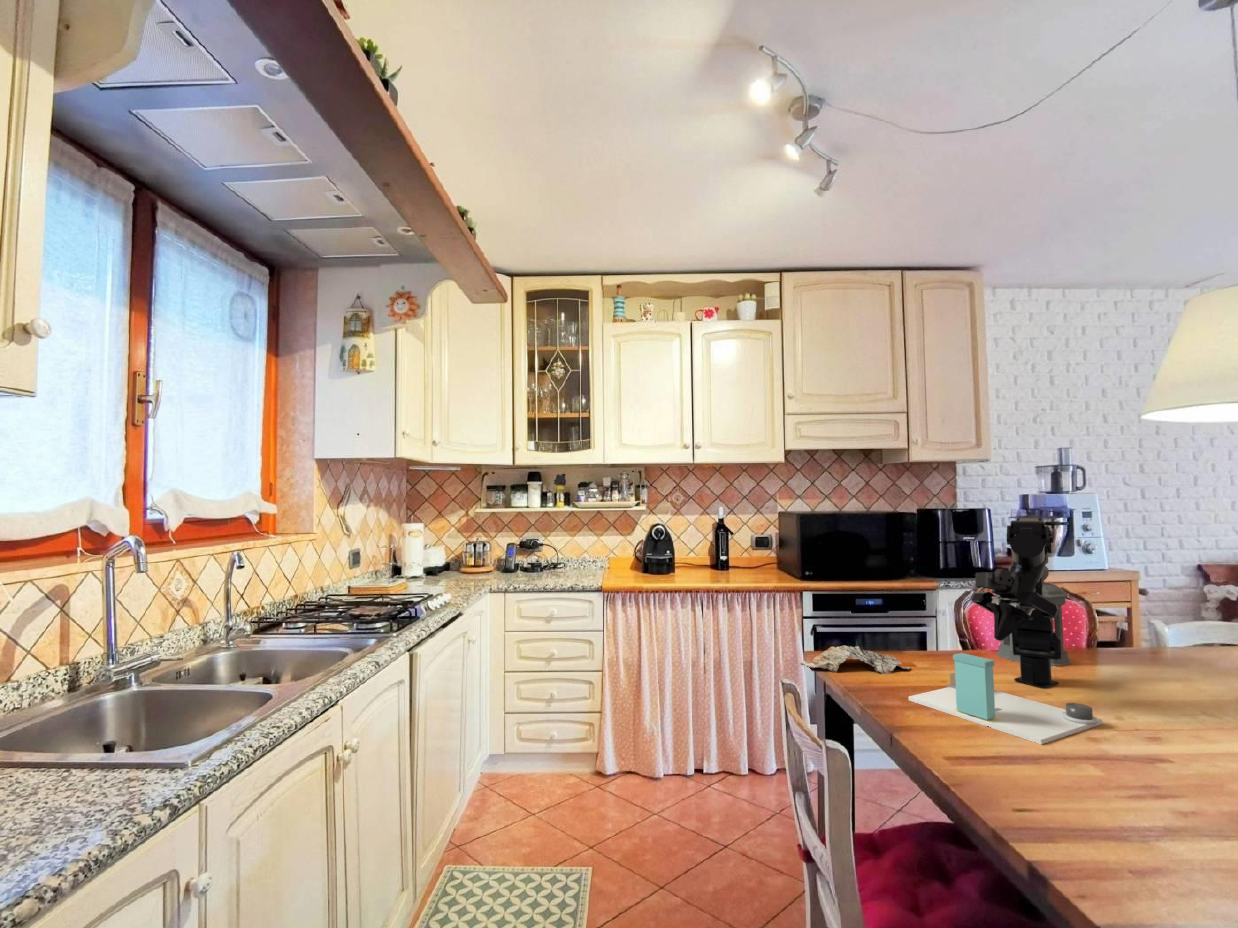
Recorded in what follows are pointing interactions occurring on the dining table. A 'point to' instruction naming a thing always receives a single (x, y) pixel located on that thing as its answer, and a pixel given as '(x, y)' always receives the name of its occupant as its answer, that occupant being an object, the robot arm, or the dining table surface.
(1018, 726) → the console
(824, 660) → the rock
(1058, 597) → the lantern
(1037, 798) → the dining table surface
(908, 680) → the dining table surface
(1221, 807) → the dining table surface
